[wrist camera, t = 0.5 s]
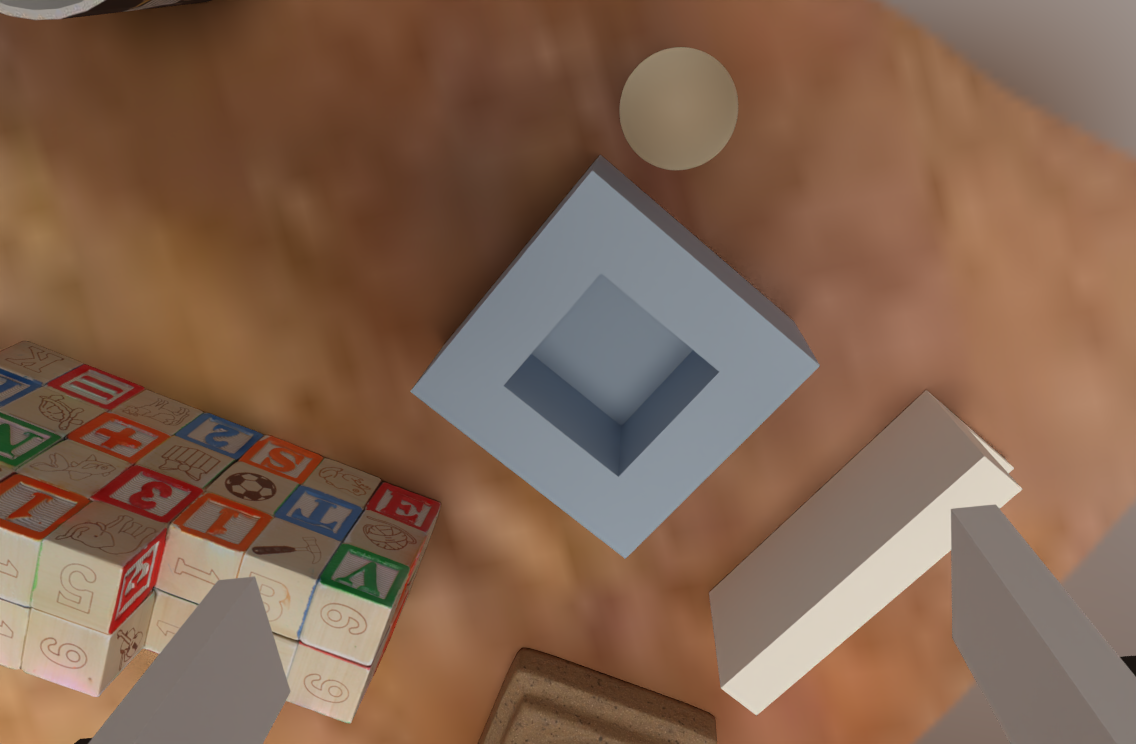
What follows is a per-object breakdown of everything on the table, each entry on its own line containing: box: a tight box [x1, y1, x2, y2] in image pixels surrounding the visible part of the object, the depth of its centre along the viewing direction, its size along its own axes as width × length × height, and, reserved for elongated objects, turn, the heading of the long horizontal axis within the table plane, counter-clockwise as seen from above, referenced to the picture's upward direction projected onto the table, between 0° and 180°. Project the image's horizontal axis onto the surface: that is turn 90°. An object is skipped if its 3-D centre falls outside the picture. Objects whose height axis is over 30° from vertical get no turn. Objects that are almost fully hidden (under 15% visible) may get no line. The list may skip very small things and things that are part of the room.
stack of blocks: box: [0, 341, 441, 723], centre depth 37 cm, size 21×6×12 cm, turn 69°
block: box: [410, 155, 820, 559], centre depth 36 cm, size 11×11×6 cm
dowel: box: [619, 47, 738, 170], centre depth 29 cm, size 3×3×14 cm
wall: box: [709, 390, 1022, 715], centre depth 38 cm, size 5×14×7 cm, turn 141°
